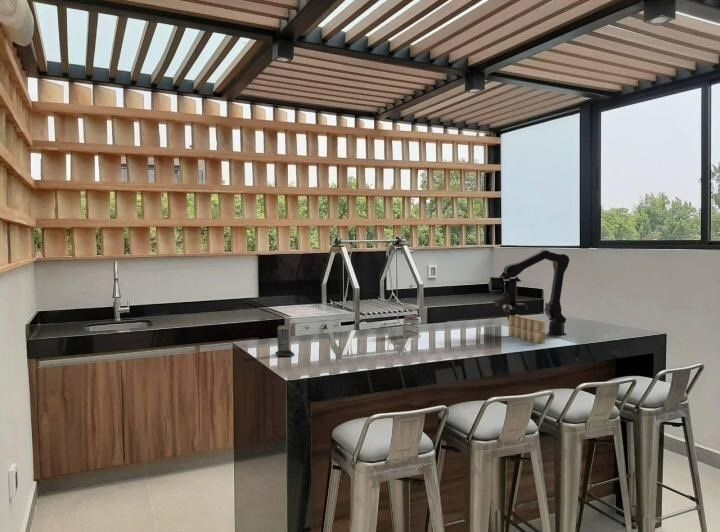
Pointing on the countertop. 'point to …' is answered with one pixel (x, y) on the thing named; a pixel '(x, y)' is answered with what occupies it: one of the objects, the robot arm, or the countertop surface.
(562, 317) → the robot arm
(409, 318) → the french press
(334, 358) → the countertop surface
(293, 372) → the countertop surface
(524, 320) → the domino
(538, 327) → the domino
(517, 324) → the domino
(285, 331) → the gray block on base
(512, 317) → the domino
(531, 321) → the domino
